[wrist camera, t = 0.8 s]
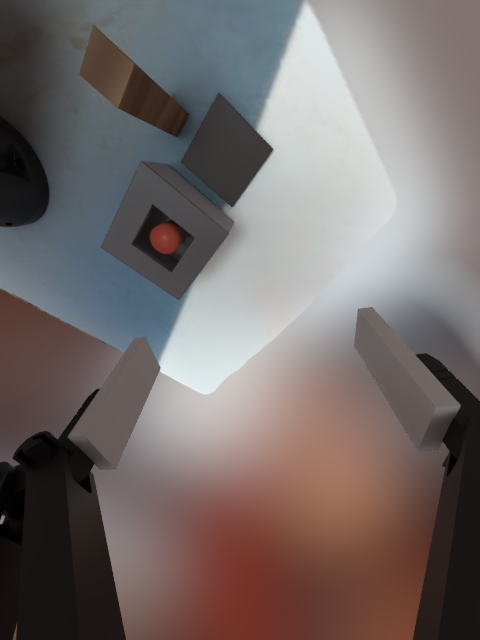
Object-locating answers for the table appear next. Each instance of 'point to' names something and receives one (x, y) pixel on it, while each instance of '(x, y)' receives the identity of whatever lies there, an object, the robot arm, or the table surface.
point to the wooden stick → (129, 85)
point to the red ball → (167, 237)
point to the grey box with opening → (156, 208)
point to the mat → (226, 151)
